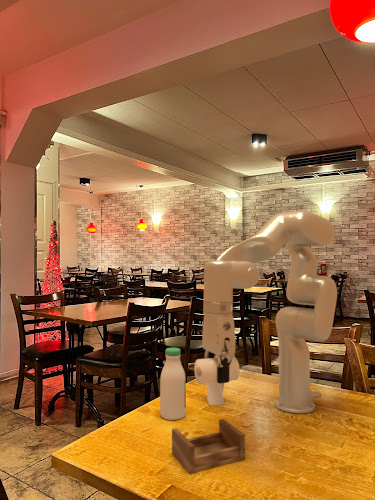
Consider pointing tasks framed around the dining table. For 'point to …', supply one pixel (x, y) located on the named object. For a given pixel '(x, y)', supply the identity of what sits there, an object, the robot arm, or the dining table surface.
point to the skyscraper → (215, 392)
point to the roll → (213, 370)
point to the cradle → (209, 448)
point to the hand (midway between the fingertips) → (216, 378)
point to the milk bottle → (172, 387)
